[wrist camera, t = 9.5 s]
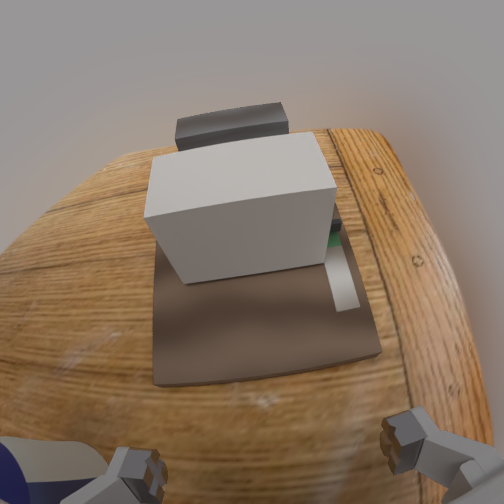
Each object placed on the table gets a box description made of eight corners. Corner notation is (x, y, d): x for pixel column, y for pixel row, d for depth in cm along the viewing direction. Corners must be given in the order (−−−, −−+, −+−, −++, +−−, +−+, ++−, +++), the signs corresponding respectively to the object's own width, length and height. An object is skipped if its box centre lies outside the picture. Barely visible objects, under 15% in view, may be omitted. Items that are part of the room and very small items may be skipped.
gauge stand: (376, 356, 22) (422, 314, 14) (160, 387, 23) (99, 361, 15) (317, 168, 34) (320, 99, 26) (166, 192, 35) (139, 128, 27)
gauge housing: (348, 258, 25) (369, 183, 18) (183, 284, 26) (143, 217, 18) (323, 188, 30) (329, 112, 22) (184, 209, 30) (157, 138, 23)
